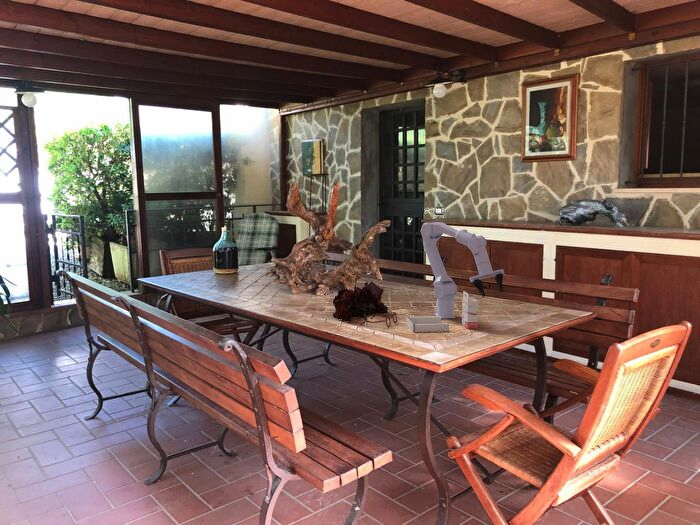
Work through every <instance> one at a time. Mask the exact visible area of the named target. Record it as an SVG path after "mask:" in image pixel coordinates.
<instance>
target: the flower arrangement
mask: <svg viewBox="0 0 700 525" xmlns="http://www.w3.org/2000/svg"><path fill="white" fill-rule="evenodd" d="M363 285H364V286H362V288H360V287H359V286H357V285H355V286H354V287H353V289H349V288H339V289H338V290H337V295H335V296H334V298H333V299H332V305H333V306H334V309H335V310H334V311H335V312H332V316H333V317H334V318H337V319H336V320H338V319H342V320H344V321H350V322H351V320H352V319H353V318H352V317H356V318H363V319H364V321H368V320H367V316H368V315H367V314H370V315H374V314H373V313H375V314H378V313H377V312H381V313H383V314H387V313H388V306H386V305H385V302H383V301H382V296H383V294H384V291H385V290H384V288H381V287H380V286H379V285H377V284H376V283H374V281H370V282H368V281H366V282H364V284H363ZM359 316H360V317H359ZM333 317H332V318H333ZM334 318H333V319H334ZM342 320H341V321H342ZM344 321H343V322H344Z"/></svg>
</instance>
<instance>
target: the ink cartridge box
mask: <svg viewBox="0 0 700 525" xmlns="http://www.w3.org/2000/svg"><path fill="white" fill-rule="evenodd" d="M479 304H480V302H479V300H477V299H476V298H474V297H470V296H469V293H468V292H467V291H464V290H463V295H462V304H461V305H462V309H461V311H462V312H461V325H463V327H465V328H466V329H467V328H468V329H479V306H480V305H479Z"/></svg>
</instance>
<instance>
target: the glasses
mask: <svg viewBox="0 0 700 525" xmlns="http://www.w3.org/2000/svg"><path fill="white" fill-rule="evenodd" d="M375 317H382V318H385V320H383V319H382V320H374V321H371V320H372V319H374V318H375ZM394 317H395V319H394ZM391 319H392V320H391ZM391 321H393V323H395V322H396V323H397V321H398V314H397V313H396V312H395V311H393V312H392V314H385V315H382V314H373V316H372V317H370V320H364V321H363V322H361V323H360V324H359V326H362V325H364V324H365V323H370V324H376V323H385V324H386V325H385V326H386V327H387V328H390V327H391V325H392V324H391ZM388 322H389V324H388ZM389 326H390V327H389Z"/></svg>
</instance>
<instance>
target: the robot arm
mask: <svg viewBox="0 0 700 525" xmlns="http://www.w3.org/2000/svg"><path fill="white" fill-rule="evenodd" d="M420 233H421V234H420V235H421V237H422V245H423V248H424V250H425V254H426V255H427V259H428V262H429V265H430V268H431V270H432V274H433V275H434V277H435V278H434V279H435V280H434V281H433V284H432V286H433V288H434V290H433V291H434V295H435V296H436V301H435V302H436V305H435V312H434V313H433V315H435V316H441V320H442V319H456V318H457V317H456V316H455V315H454V307H455V306H454V304H455V303H454V302H455V299H454V298H455V297H456V294H457V293H458V286H457V285H456V283H455V282H454V280H453V278H452V277H451V276H449V275H448V273H447V271H446V268H445V265H444V263H443V260H442V257H441V255H440V252H439V249H438V247H437V242H438V241H439V240H440V239H441V237H442V236H443V234H444V235H447V236H448V237H452V238H454V239H455V240H456V242H457V243H459V244H460V245H464V246H466V247H467V248H468V249H469V250H470V251H471V254H472V255H473V259H474V261H475V262H474V263H475V264H476V265H475V266H476V268H477V272H478V275H474V276H470V277H469V281H470V283H472V284H473V286H474V287H475V288H476V289H477V290H478V291H479V293H480V295H481V297H482V298H484V297H486V293H485V289H484V286H483V282H482V280H483V279H489V278H491V277H494V280H495V283H496V284H497V287H498V288H497V289H498V291H499V293H503V292H504V291H503V280H504V274H505V271H504V268H502V269H497V270H493V267H492V264H491V260H490V257H489V254H488V251H487V248H486V247H487V244H488V243H487V242H488V241H487V239H486V237H485V236H483V235H477V234H476V233H471V232H469V231H468V229H460V230H458V229H455V228H454V227H452V226H450V225H448V224H446V223H444V222H442V221H435V222H434V221H433V222H423V224H422V226H421V229H420Z"/></svg>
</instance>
